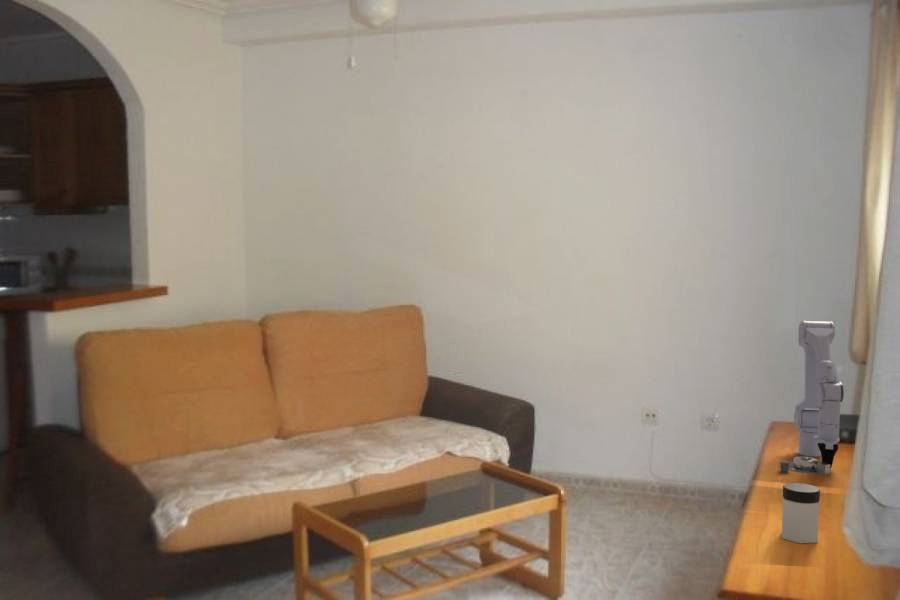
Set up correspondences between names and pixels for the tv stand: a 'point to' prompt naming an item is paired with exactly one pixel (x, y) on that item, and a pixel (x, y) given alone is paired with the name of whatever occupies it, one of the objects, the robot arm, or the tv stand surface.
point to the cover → (805, 463)
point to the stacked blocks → (784, 466)
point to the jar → (800, 513)
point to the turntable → (821, 468)
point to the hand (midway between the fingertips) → (827, 468)
